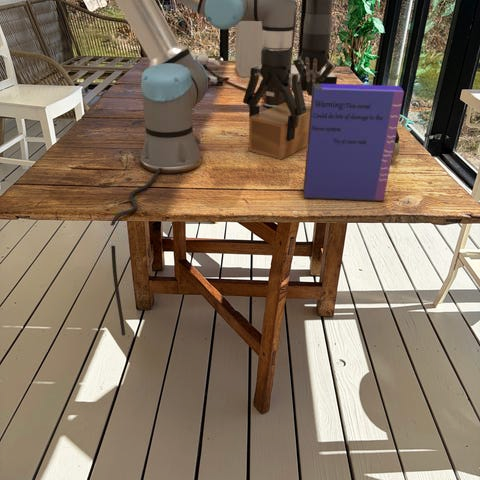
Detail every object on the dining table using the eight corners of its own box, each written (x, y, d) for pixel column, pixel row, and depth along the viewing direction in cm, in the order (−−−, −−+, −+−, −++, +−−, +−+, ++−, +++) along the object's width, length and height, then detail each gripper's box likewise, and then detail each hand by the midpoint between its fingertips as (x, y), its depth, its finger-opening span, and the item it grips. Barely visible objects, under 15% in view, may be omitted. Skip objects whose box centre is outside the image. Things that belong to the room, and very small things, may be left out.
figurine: (151, 84, 182) (229, 91, 185) (152, 62, 179) (231, 70, 183) (156, 81, 204) (226, 88, 208) (157, 62, 201) (227, 69, 205)
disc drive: (292, 89, 190) (292, 76, 188) (286, 77, 210) (286, 65, 207) (335, 90, 191) (337, 77, 188) (325, 77, 210) (327, 65, 208)
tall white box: (273, 76, 210) (276, 6, 196) (239, 77, 209) (240, 6, 194) (266, 67, 226) (268, 2, 212) (235, 67, 225) (235, 1, 210)
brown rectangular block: (285, 133, 145) (287, 101, 140) (316, 140, 140) (319, 108, 135) (248, 150, 131) (249, 116, 127) (281, 159, 126) (283, 124, 121)
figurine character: (397, 170, 124) (390, 144, 136) (403, 143, 120) (396, 119, 131) (371, 168, 125) (366, 143, 137) (376, 142, 120) (371, 118, 132)
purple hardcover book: (379, 191, 109) (398, 84, 97) (383, 201, 105) (404, 90, 93) (303, 188, 110) (312, 82, 98) (304, 197, 106) (314, 88, 94)
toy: (175, 75, 210) (174, 58, 206) (151, 64, 228) (150, 49, 224) (222, 69, 222) (222, 53, 218) (195, 59, 239) (195, 45, 236)
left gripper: (326, 51, 114) (317, 140, 125) (247, 41, 126) (245, 123, 137) (310, 56, 109) (302, 148, 120) (229, 45, 120) (229, 129, 132)
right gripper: (345, 32, 130) (337, 96, 139) (302, 27, 137) (298, 89, 145) (332, 34, 125) (325, 101, 134) (289, 30, 131) (285, 94, 140)
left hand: (272, 135), depth 129 cm, fingers closed on brown rectangular block, 11 cm apart
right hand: (311, 95), depth 139 cm, fingers closed
